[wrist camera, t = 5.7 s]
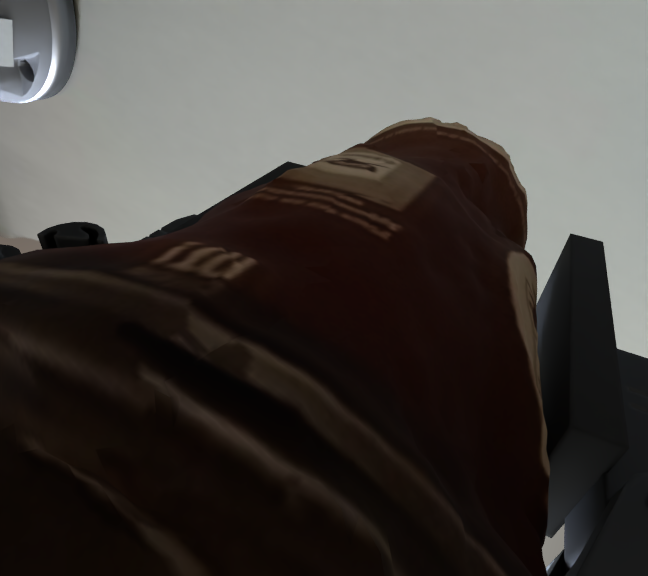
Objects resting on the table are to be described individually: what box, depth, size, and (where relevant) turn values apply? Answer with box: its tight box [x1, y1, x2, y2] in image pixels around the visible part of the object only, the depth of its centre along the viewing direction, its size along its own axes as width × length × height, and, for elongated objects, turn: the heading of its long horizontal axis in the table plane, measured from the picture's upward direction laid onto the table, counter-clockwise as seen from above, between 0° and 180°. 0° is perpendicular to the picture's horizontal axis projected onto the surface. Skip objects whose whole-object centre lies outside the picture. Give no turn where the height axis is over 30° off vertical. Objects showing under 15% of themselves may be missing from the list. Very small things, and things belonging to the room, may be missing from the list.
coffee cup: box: [0, 117, 550, 576], centre depth 9 cm, size 9×8×13 cm
